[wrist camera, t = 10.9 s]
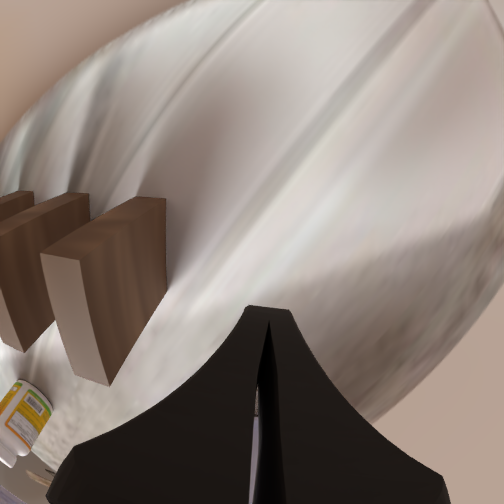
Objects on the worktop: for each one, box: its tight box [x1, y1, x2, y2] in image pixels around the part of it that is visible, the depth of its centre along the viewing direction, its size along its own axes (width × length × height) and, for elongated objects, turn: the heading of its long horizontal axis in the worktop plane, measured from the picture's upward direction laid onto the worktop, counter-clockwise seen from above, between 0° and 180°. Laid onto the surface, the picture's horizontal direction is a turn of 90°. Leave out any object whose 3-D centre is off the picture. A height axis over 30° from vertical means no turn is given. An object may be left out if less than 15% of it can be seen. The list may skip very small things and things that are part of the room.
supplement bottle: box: [0, 380, 53, 468], centre depth 18 cm, size 5×5×10 cm
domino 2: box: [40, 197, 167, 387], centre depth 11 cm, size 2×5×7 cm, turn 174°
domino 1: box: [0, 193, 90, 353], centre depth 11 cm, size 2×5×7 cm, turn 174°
